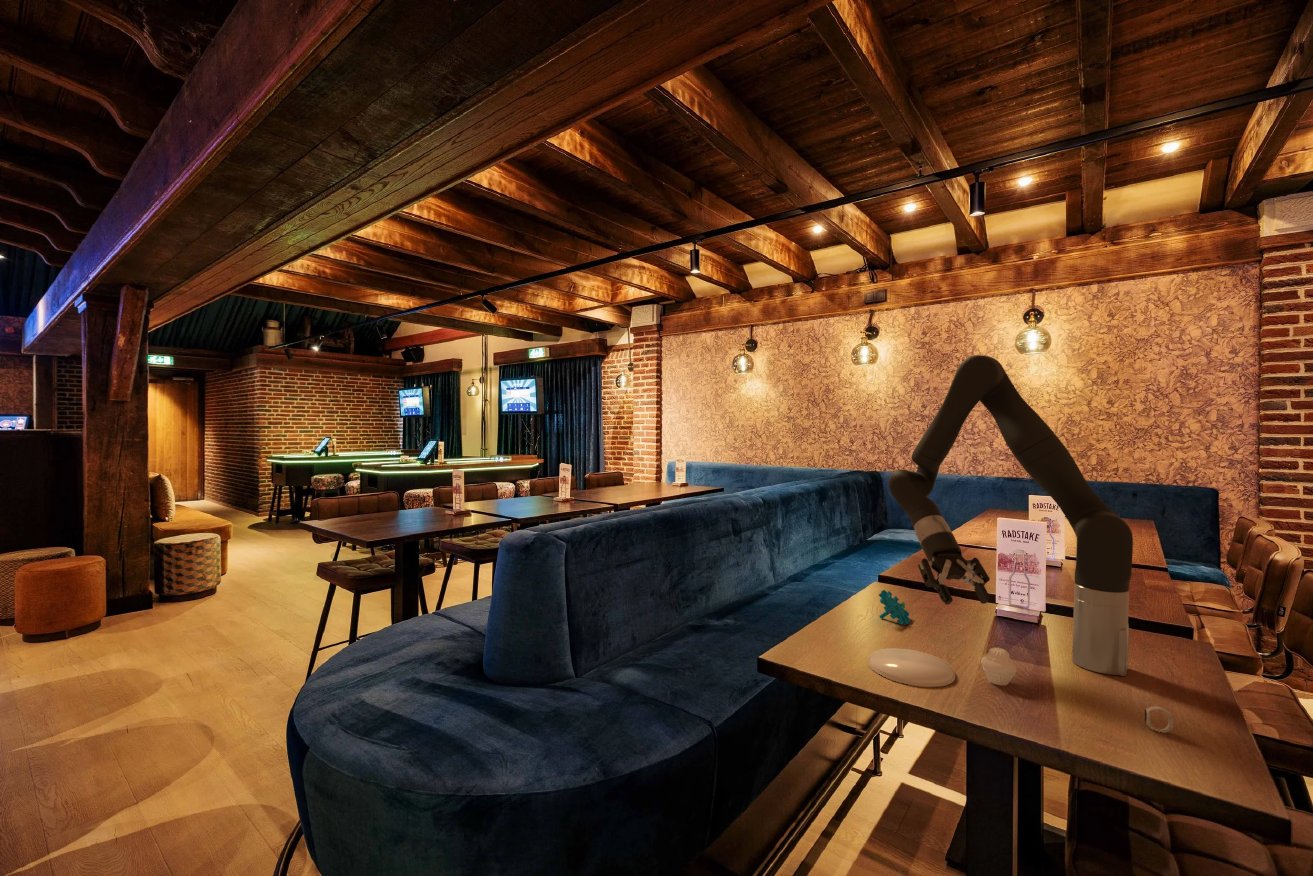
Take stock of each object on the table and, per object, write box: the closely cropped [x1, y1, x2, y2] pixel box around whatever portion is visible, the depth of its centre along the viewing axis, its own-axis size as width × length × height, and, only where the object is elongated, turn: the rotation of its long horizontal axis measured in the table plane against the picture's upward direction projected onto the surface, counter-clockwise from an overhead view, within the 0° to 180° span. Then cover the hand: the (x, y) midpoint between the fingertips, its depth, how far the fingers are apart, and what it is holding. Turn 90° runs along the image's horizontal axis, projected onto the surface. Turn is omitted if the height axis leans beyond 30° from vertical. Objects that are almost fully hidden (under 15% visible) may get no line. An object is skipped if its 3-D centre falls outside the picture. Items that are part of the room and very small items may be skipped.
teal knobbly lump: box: [878, 589, 911, 625], centre depth 150 cm, size 11×6×10 cm
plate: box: [867, 647, 956, 688], centre depth 119 cm, size 17×17×1 cm
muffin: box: [980, 647, 1018, 687], centre depth 114 cm, size 6×6×7 cm
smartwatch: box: [1144, 705, 1175, 734], centre depth 96 cm, size 4×2×4 cm, turn 54°
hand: (967, 602), depth 123 cm, fingers open, 8 cm apart
